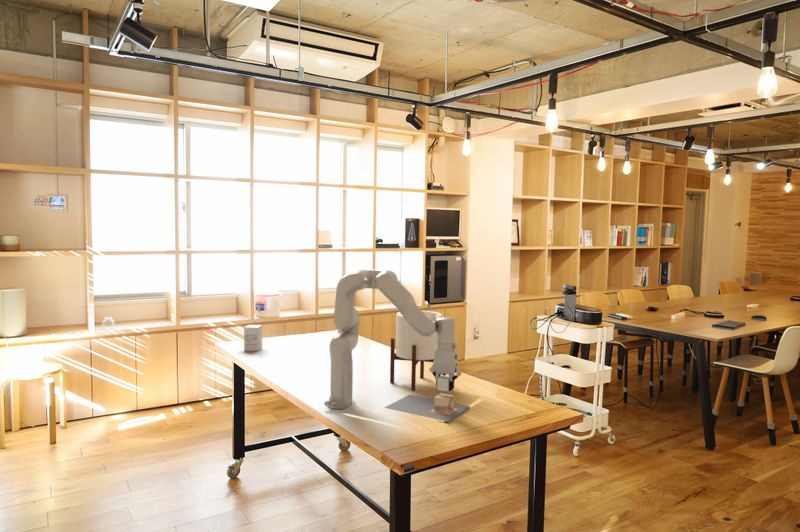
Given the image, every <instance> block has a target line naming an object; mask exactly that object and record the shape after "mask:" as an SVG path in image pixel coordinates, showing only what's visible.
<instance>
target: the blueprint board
mask: <svg viewBox="0 0 800 532" xmlns="http://www.w3.org/2000/svg"><path fill="white" fill-rule="evenodd" d="M434 401H435V398H429V397H425V396H424V397H423V396H419V395H414V394H408V395H405V396H404V397H402V398H400V399H397V401H394V402H392V403H391V404H388V405H386V406H385V407H384V409H389V410H393V411H399V412H403V413H408V414H413V415H416V416H422V417H426V418H430V419H435V420H439V421H438V423H441V421H443V422H442V424H449V423H450V422H453V421H454V420H455V419H457V418H458V417H459V416H461V415H462V414H464V413H465V412H467V411H468V410H469V409H471V408H470V405H467V404H460V403H456V402H453V410H452V411H450V412H449V413H443V412H438V411H434Z"/></svg>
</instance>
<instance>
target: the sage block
mask: <svg viewBox="0 0 800 532" xmlns="http://www.w3.org/2000/svg"><path fill="white" fill-rule="evenodd" d="M449 381H450V378H449V375H446V376H444V375H442V374H441V376H440V377H438V378H437V386H436V390H437V391H443V392H450V391H449Z"/></svg>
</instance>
